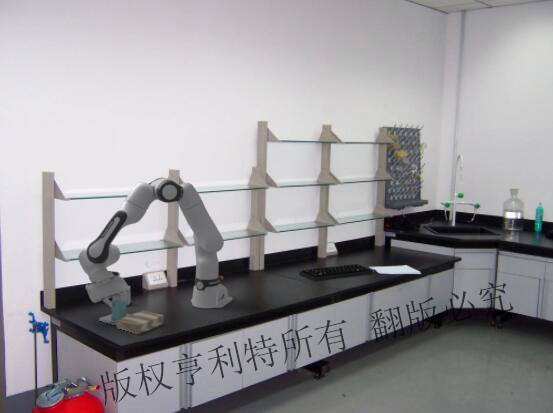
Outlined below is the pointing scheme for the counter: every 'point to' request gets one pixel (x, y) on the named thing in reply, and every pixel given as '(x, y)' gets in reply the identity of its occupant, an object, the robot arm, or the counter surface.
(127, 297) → the medicine box
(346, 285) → the counter surface
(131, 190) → the robot arm
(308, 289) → the counter surface
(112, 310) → the teal square-faced block
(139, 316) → the riser block
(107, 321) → the post stand
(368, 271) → the computer keyboard
